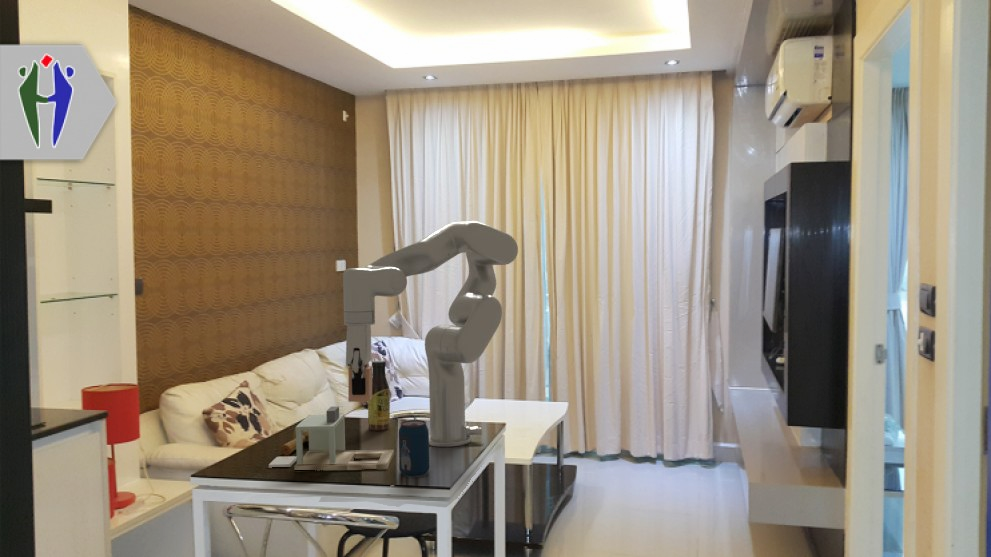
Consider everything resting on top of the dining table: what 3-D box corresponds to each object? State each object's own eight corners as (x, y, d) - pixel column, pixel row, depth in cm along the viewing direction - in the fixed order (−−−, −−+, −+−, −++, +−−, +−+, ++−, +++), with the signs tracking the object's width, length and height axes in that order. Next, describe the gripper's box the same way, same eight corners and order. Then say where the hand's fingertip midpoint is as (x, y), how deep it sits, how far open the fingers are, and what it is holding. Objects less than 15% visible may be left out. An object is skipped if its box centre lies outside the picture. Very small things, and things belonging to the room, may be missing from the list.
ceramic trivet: (297, 459, 188) (296, 456, 188) (289, 467, 181) (289, 464, 181) (277, 459, 188) (277, 456, 188) (268, 467, 181) (268, 464, 181)
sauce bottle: (380, 432, 215) (378, 363, 214) (363, 430, 218) (362, 362, 218) (395, 427, 220) (393, 360, 220) (379, 425, 224) (377, 359, 223)
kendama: (302, 461, 192) (336, 435, 209) (295, 438, 191) (330, 413, 208) (277, 464, 194) (313, 438, 211) (270, 441, 193) (307, 417, 210)
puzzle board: (394, 454, 191) (394, 449, 191) (386, 469, 178) (386, 464, 178) (307, 456, 191) (307, 451, 191) (294, 471, 178) (294, 465, 178)
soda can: (430, 469, 178) (429, 419, 178) (428, 478, 171) (427, 425, 171) (401, 469, 178) (400, 419, 177) (398, 478, 171) (396, 426, 170)
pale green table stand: (345, 449, 191) (344, 403, 191) (334, 463, 178) (333, 414, 178) (310, 449, 191) (308, 403, 191) (296, 464, 178) (295, 415, 178)
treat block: (372, 397, 187) (372, 365, 186) (369, 401, 182) (369, 368, 181) (351, 397, 187) (352, 365, 186) (348, 401, 182) (348, 368, 181)
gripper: (350, 315, 192) (351, 386, 193) (337, 321, 175) (338, 399, 176) (379, 315, 192) (380, 386, 193) (369, 321, 175) (370, 398, 176)
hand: (360, 391), depth 184 cm, fingers closed on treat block, 5 cm apart
